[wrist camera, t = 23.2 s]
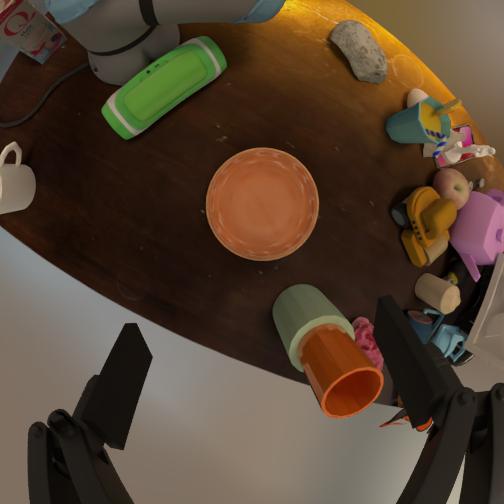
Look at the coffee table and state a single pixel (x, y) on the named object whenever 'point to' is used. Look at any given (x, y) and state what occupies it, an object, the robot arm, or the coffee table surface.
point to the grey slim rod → (477, 184)
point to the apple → (451, 186)
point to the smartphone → (468, 142)
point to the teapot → (479, 230)
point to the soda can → (420, 324)
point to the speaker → (163, 86)
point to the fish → (406, 420)
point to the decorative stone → (361, 51)
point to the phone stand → (446, 336)
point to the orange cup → (338, 371)
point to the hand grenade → (457, 273)
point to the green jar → (304, 316)
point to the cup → (423, 123)
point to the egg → (415, 97)
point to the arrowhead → (448, 146)
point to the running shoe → (471, 318)
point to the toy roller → (424, 224)
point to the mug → (15, 182)
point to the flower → (367, 341)
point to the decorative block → (490, 322)
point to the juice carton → (29, 29)
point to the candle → (437, 293)
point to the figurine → (456, 152)
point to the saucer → (262, 204)
